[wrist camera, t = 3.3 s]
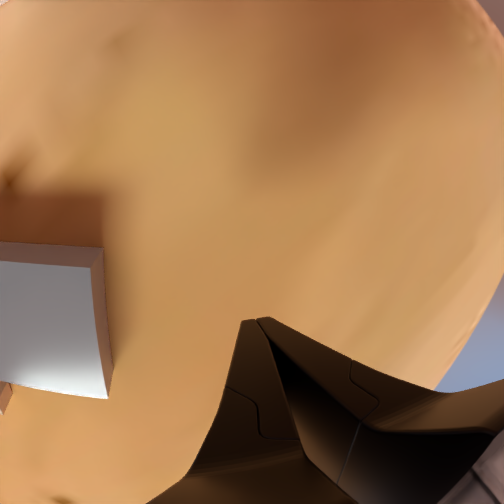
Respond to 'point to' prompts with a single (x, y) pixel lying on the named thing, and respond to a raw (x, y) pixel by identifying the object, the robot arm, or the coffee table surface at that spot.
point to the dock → (4, 396)
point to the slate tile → (54, 319)
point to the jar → (1, 0)
